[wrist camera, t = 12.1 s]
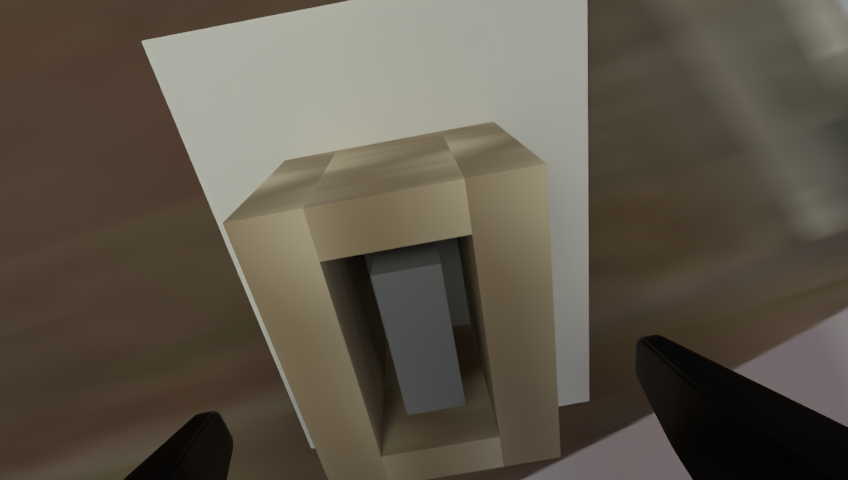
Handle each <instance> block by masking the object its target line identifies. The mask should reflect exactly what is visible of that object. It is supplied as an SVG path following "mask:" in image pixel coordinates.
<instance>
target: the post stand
mask: <svg viewBox="0 0 848 480" xmlns="http://www.w3.org/2000/svg"><path fill="white" fill-rule="evenodd" d="M141 42H142V44H143V47H144V49H145V51H146V54H147V56H148V58H149V61H150V63H151V66H152V68H153V70H154V73H155V75H156V78H157V80H158V82H159V85H160V87H161V90H162V92H163V94H164V97H165V99H166V102H167V104H168V106H169V109H170V111H171V114H172V116H173V118H174V121H175V123H176V126H177V128H178V130H179V133H180V135H181V138H182V140H183V142H184V145H185V147H186V150H187V152H188V154H189V157H190V159H191V162H192V164H193V166H194V169H195V171H196V174H197V176H198V178H199V181H200V183H201V186H202V188H203V190H204V193H205V195H206V198H207V200H208V202H209V205H210V207H211V209H212V212H213V214H214V217H215V219H216V221H217V224H218V226H219V229H220V231H221V233H222V236H223V238H224V241H225V243H226V245H227V248H228V250H229V253H230V255H231V257H232V260H233V262H234V265H235V267H236V269H237V272H238V274H239V277H240V279H241V281H242V284H243V286H244V289H245V291H246V293H247V296H248V298H249V301H250V303H251V305H252V308H253V310H254V313H255V315H256V317H257V320H258V322H259V325H260V327H261V329H262V332H263V334H264V337H265V339H266V341H267V344H268V346H269V348H270V351H271V353H272V356H273V358H274V360H275V363H276V365H277V368H278V370H279V372H280V375H281V377H282V380H283V382H284V384H285V387H286V389H287V392H288V394H289V396H290V399H291V401H292V404H293V406H294V408H295V411H296V413H297V416H298V418H299V420H300V423H301V425H302V428H303V430H304V432H305V435H306V437H307V440H308V442H309V444H310V447H311V449H312V448H315V447H314V444H313V442H312V439H311V437H310V434H309V432H308V430H307V427H306V425H305V422H304V420H303V417H302V415H301V413H300V410H299V408H298V405H297V403H296V400H295V398H294V396H293V393H292V391H291V388H290V386H289V383H288V381H287V378H286V376H285V374H284V371H283V369H282V366H281V364H280V361H279V359H278V357H277V354H276V352H275V349H274V347H273V344H272V342H271V340H270V337H269V335H268V332H267V330H266V327H265V325H264V323H263V320H262V318H261V315H260V313H259V310H258V308H257V306H256V303H255V301H254V298H253V296H252V293H251V291H250V288H249V286H248V284H247V281H246V279H245V276H244V274H243V271H242V269H241V267H240V264H239V262H238V259H237V257H236V254H235V252H234V250H233V247H232V245H231V242H230V240H229V237H228V235H227V233H226V230H225V228H224V225H223V222H224V221H225V220H226V219H227V218H228V217H229V216H230V215H231V214H232V213H233V212H234V211H235V210H236V209H237V208H238V207H239V206H240V205H241V204H242V203H243V202H244V201H245V200H246V199H247V198H248V197H249V196H250V195H251V194H252V193H253V192H254V191H255V190H256V189H257V188H258V187H259V186H260V185H261V184H262V183H263V182H264V181H265V180H266V179H267V178H268V177H269V176H270V175H271V174H272V173H273V172H274V171H275V170H276V169H277V168H278V167H279V166H280V165H281V164H282V163H283V162H284V161H285V160H289V159H295V158H300V157H305V156H311V155H316V154H321V153H327V152H332V151H337V150H343V149H348V148H354V147H359V146H364V145H370V144H375V143H380V142H386V141H391V140H397V139H402V138H407V137H413V136H418V135H423V134H429V133H434V132H440V131H445V130H450V129H456V128H461V127H466V126H472V125H477V124H483V123H488V122H494V123H496V124H497V125H498V126H500V127H501V128H502V129H503V130H505V131H506V132H507V133H508V134H510V135H511V136H512V137H514V138H515V139H516V140H517V141H519V142H520V143H521V144H522V145H524V146H525V147H526V148H528V149H529V150H530V151H531V152H533V153H534V154H535V155H536V156H538V157H539V158H540V159H541V160H543V161H544V162H545V163H547V179H548V200H549V221H550V242H551V263H552V284H553V304H554V325H555V346H556V367H557V388H558V406H564V405H570V404H575V403H581V402H587V401H589V237H588V29H587V0H350V1H345V2H340V3H334V4H329V5H324V6H319V7H314V8H309V9H303V10H298V11H293V12H288V13H283V14H278V15H273V16H267V17H262V18H257V19H252V20H247V21H242V22H236V23H231V24H226V25H221V26H216V27H211V28H206V29H200V30H195V31H190V32H185V33H180V34H175V35H169V36H164V37H159V38H154V39H149V40H144V41H141ZM364 256H365V260H366V264H367V267H368V271H369V275H370V279H371V283H372V286H373V290H374V294H375V298H376V302H377V305H378V309H379V313H380V317H381V321H382V324H383V328H384V332H385V336H386V339H388V343H389V347H390V351H391V355H392V359H393V362H394V366H395V370H396V374H397V378H398V381H399V385H400V389H401V393H402V397H403V401H404V404H405V408H406V412H407V415H412V414H418V413H424V412H430V411H436V410H442V409H447V408H453V407H459V406H465V405H466V403H465V397H464V392H463V386H462V381H461V375H460V369H459V364H458V358H457V352H456V347H455V341H454V335H453V330H452V327H455V326H461V325H467V324H470V319H469V312H468V306H467V299H466V293H465V286H464V280H463V273H462V266H461V260H460V253H459V247H458V240H457V237H455V238H450V239H444V240H439V241H433V242H427V243H422V244H416V245H411V246H405V247H400V248H394V249H389V250H383V251H378V252H372V253H366V254H364Z"/></svg>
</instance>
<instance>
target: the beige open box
mask: <svg viewBox="0 0 848 480" xmlns="http://www.w3.org/2000/svg"><path fill="white" fill-rule="evenodd" d="M223 225H224V228H225V230H226V233H227V235H228V237H229V240H230V242H231V245H232V247H233V250H234V252H235V254H236V257H237V259H238V262H239V264H240V267H241V269H242V271H243V274H244V276H245V279H246V281H247V284H248V286H249V288H250V291H251V293H252V296H253V298H254V301H255V303H256V306H257V308H258V310H259V313H260V315H261V318H262V320H263V323H264V325H265V327H266V330H267V332H268V335H269V337H270V340H271V342H272V344H273V347H274V349H275V352H276V354H277V357H278V359H279V361H280V364H281V366H282V369H283V371H284V374H285V376H286V378H287V381H288V383H289V386H290V388H291V391H292V393H293V396H294V398H295V400H296V403H297V405H298V408H299V410H300V413H301V415H302V417H303V420H304V422H305V425H306V427H307V430H308V432H309V434H310V437H311V439H312V442H313V444H314V447H315V449H316V451H317V454H318V456H319V459H320V461H321V464H322V466H323V468H324V471H325V473H326V476H327V478H328V480H428V479H434V478H440V477H446V476H452V475H458V474H464V473H470V472H475V471H481V470H487V469H493V468H499V467H505V466H511V465H517V464H523V463H529V462H535V461H541V460H547V459H553V458H559V457H561V451H560V430H559V409H558V388H557V367H556V346H555V325H554V304H553V284H552V263H551V242H550V221H549V200H548V179H547V163H545V162H544V161H543V160H541V159H540V158H539V157H538V156H536V155H535V154H534V153H533V152H531V151H530V150H529V149H528V148H526V147H525V146H524V145H522V144H521V143H520V142H519V141H517V140H516V139H515V138H514V137H512V136H511V135H510V134H508V133H507V132H506V131H505V130H503V129H502V128H501V127H500V126H498V125H497V124H496V123H494V122H488V123H483V124H477V125H472V126H466V127H461V128H456V129H450V130H445V131H440V132H434V133H429V134H423V135H418V136H413V137H407V138H402V139H397V140H391V141H386V142H380V143H375V144H370V145H364V146H359V147H354V148H348V149H343V150H337V151H332V152H327V153H321V154H316V155H311V156H305V157H300V158H295V159H289V160H285V161H284V162H283V163H282V164H281V165H280V166H279V167H278V168H277V169H276V170H275V171H274V172H273V173H272V174H271V175H270V176H269V177H268V178H267V179H266V180H265V181H264V182H263V183H262V184H261V185H260V186H259V187H258V188H257V189H256V190H255V191H254V192H253V193H252V194H251V195H250V196H249V197H248V198H247V199H246V200H245V201H244V202H243V203H242V204H241V205H240V206H239V207H238V208H237V209H236V210H235V211H234V212H233V213H232V214H231V215H230V216H229V217H228V218H227V219H226V220H225V221H224V222H223ZM455 237H457V240H458V247H459V253H460V260H461V266H462V273H463V280H464V286H465V293H466V299H467V306H468V312H469V319H470V324H467V325H461V326H455V327H452V330H453V335H454V341H455V347H456V352H457V358H458V364H459V369H460V375H461V381H462V386H463V392H464V397H465V403H466V405H465V406H459V407H453V408H447V409H442V410H436V411H430V412H424V413H418V414H412V415H407V412H406V408H405V404H404V401H403V397H402V393H401V389H400V385H399V381H398V378H397V374H396V370H395V366H394V362H393V359H392V355H391V351H390V347H389V343H388V339H386V336H385V332H384V328H383V324H382V321H381V317H380V313H379V309H378V305H377V302H376V298H375V294H374V290H373V286H372V283H371V279H370V275H369V271H368V267H367V264H366V260H365V256H364V254H366V253H372V252H378V251H383V250H389V249H394V248H400V247H405V246H411V245H416V244H422V243H427V242H433V241H439V240H444V239H450V238H455Z"/></svg>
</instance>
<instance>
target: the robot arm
mask: <svg viewBox="0 0 848 480" xmlns="http://www.w3.org/2000/svg"><path fill="white" fill-rule="evenodd" d="M635 372H636V376H637V378H638V380H639V382H640V384H641V386H642V388H643V390H644V392H645V394H646V396H647V398H648V400H649V402H650V404H651V406H652V408H653V410H654V412H655V414H656V416H657V418H658V420H659V422H660V424H661V426H662V428H663V430H664V432H665V434H666V436H667V438H668V440H669V441H670V443H671V445H672V447H673V449H674V450H675V452H676V454H677V455H678V457H679V459H680V460H681V462H682V463H683V465H684V467H685V468H686V470H687V471H688V472H689V474H690V476H691V477H692V479H693V480H848V427H846V426H844V425H842V424H840V423H838V422H836V421H834V420H832V419H830V418H828V417H826V416H824V415H822V414H820V413H818V412H816V411H814V410H812V409H809V408H808V407H805V406H803V405H801V404H799V403H797V402H795V401H793V400H791V399H789V398H787V397H785V396H783V395H781V394H779V393H777V392H775V391H773V390H771V389H769V388H767V387H765V386H763V385H761V384H758V383H756V382H754V381H752V380H750V379H748V378H746V377H744V376H742V375H740V374H738V373H736V372H734V371H732V370H730V369H728V368H726V367H724V366H722V365H720V364H718V363H716V362H714V361H712V360H709V359H707V358H705V357H703V356H701V355H699V354H697V353H695V352H693V351H691V350H689V349H687V348H685V347H683V346H681V345H679V344H677V343H675V342H673V341H671V340H669V339H667V338H665V337H662V336H660V335H651V336H645V337H640V338H639V339H638V340H637V343H636V356H635ZM232 451H233V438H232V435H231V433H230V431H229V430H228V428H227V426H226V424H225V422H224V420H223V418H222V416H221V415H220V413H218V412H217V411H211V412H205V413H200V414H197V415H195V416H194V417H193V418H192V419H191V420H190V421H188V422H187V423H186V424H185V425H184V426H183V427H182V428H181V429H179V430H178V431H177V432H176V433H175V434H174V435H173V436H172V437H171V438H169V439H168V440H167V441H166V442H165V443H164V444H163V445H162V446H160V447H159V448H158V449H157V450H156V451H155V452H154V453H153V454H152V455H150V456H149V457H148V458H147V459H146V460H145V461H144V462H143V463H141V464H140V465H139V466H138V467H137V468H136V469H135V470H134V471H133V472H131V473H130V474H129V475H128V476H127V477H126V478H125V479H124V480H227V475H228V470H229V466H230V461H231V456H232Z"/></svg>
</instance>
